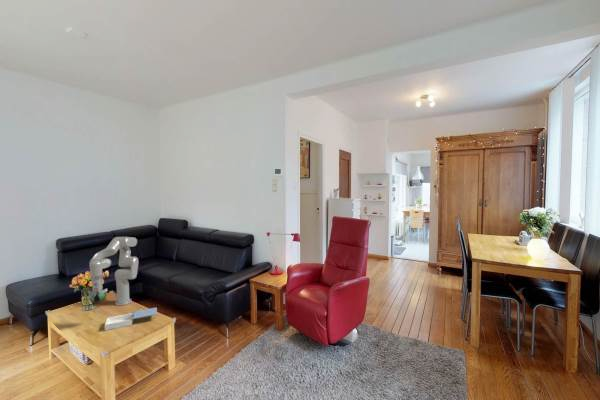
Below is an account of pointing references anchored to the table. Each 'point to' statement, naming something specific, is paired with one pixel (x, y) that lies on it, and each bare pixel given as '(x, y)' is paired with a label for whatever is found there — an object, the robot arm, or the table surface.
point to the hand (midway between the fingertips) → (97, 299)
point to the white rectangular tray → (118, 321)
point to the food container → (101, 296)
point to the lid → (144, 313)
